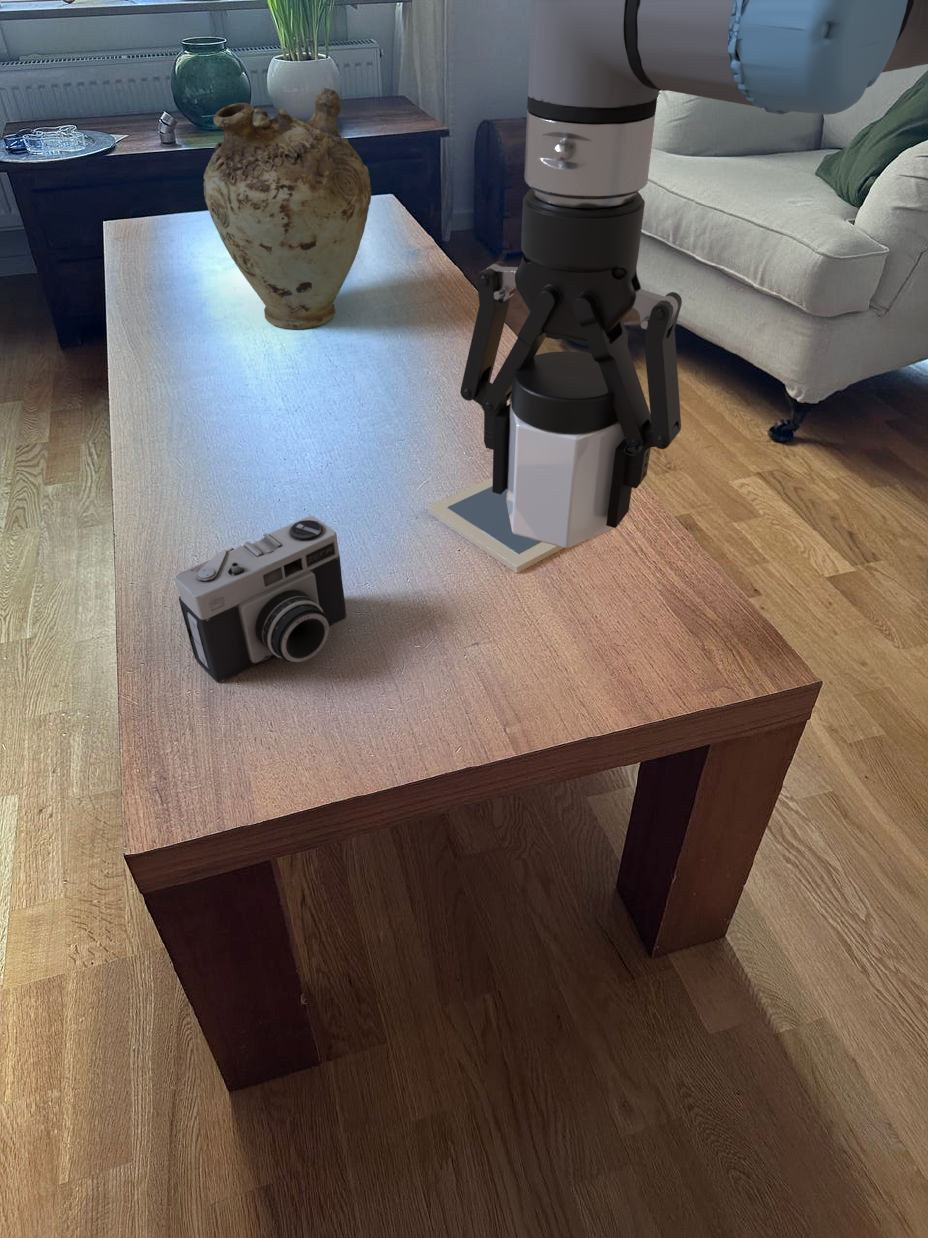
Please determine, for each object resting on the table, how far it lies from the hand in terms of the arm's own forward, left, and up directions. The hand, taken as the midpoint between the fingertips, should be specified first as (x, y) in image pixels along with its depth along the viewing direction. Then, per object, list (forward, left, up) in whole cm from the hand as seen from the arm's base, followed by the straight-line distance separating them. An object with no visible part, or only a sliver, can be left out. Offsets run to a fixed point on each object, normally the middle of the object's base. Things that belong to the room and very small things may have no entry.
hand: (559, 501), depth 69 cm
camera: (+20, +12, -15) cm, 28 cm away
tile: (+11, -17, -15) cm, 25 cm away
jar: (0, 0, -2) cm, 2 cm away
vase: (+65, -50, -15) cm, 83 cm away
